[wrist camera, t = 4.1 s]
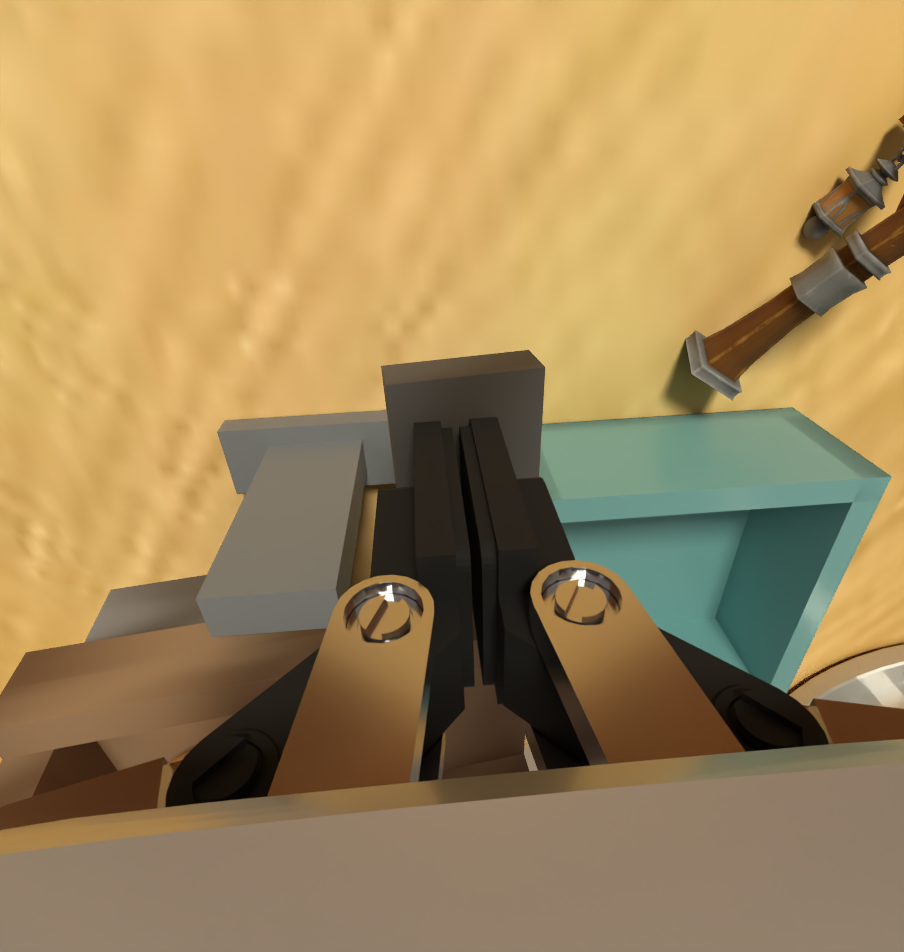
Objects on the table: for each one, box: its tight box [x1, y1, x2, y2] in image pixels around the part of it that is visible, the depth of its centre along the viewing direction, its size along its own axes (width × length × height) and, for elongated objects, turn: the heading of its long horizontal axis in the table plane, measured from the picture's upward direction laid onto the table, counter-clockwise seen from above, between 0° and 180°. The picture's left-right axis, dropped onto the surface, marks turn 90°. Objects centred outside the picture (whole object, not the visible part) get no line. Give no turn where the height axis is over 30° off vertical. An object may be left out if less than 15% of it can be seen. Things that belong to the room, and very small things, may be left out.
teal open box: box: [539, 408, 891, 693], centre depth 19 cm, size 10×11×4 cm
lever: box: [0, 350, 545, 807], centre depth 13 cm, size 12×14×6 cm
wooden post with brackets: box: [686, 116, 904, 400], centre depth 14 cm, size 2×8×4 cm, turn 149°
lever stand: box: [196, 410, 395, 637], centre depth 18 cm, size 6×12×8 cm, turn 3°
